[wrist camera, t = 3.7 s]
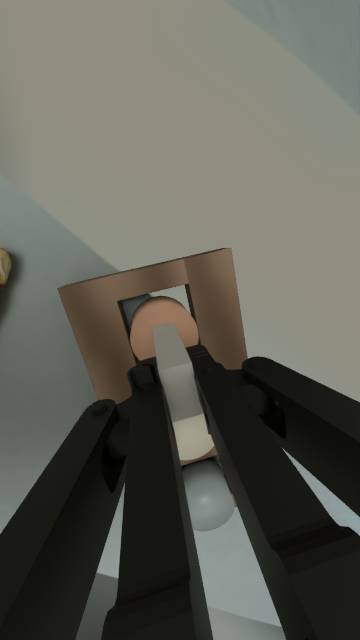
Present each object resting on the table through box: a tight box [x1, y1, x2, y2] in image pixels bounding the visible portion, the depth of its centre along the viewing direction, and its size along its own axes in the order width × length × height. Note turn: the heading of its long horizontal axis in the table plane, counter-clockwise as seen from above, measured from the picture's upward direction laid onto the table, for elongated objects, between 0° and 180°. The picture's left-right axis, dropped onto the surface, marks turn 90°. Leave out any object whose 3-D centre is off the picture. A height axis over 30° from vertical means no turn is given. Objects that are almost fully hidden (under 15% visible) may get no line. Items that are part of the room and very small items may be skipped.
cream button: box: [172, 409, 214, 460], centre depth 22 cm, size 5×5×4 cm
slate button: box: [182, 460, 234, 531], centre depth 25 cm, size 5×5×4 cm
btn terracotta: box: [130, 296, 199, 361], centre depth 19 cm, size 5×5×4 cm
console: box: [57, 248, 248, 507], centre depth 24 cm, size 14×28×2 cm, turn 13°
